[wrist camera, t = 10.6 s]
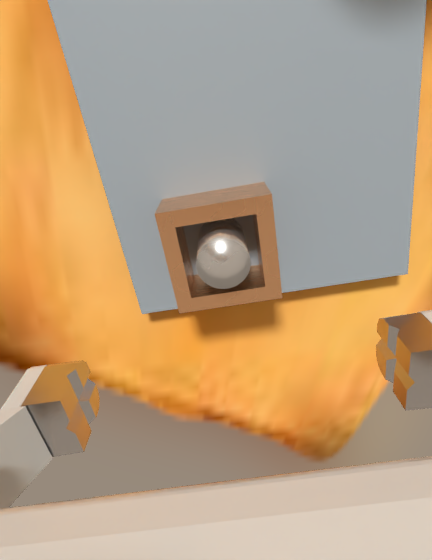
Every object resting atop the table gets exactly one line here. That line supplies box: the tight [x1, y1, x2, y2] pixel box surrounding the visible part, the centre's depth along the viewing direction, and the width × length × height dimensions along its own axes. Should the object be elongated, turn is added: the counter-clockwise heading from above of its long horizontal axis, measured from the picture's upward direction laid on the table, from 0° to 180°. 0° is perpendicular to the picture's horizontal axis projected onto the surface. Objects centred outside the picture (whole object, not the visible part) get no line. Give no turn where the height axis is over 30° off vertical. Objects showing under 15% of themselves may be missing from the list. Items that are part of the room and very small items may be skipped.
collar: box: [155, 182, 282, 314], centre depth 24 cm, size 7×7×4 cm
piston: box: [196, 218, 251, 289], centre depth 24 cm, size 3×3×4 cm
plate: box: [48, 0, 427, 314], centre depth 24 cm, size 20×20×2 cm
